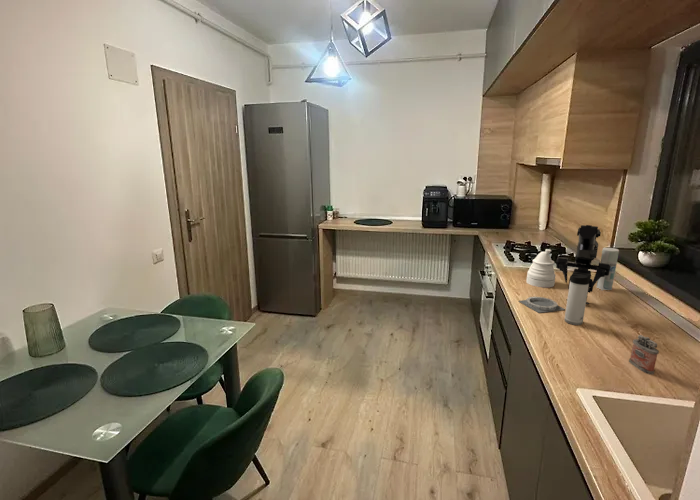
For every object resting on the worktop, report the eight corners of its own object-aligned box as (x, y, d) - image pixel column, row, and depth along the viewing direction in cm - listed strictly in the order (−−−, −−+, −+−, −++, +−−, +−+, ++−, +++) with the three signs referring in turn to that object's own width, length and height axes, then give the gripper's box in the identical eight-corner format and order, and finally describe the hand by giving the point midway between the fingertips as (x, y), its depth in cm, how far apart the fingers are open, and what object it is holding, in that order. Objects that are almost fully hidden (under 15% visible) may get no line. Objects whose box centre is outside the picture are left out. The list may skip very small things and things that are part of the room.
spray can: (602, 285, 189) (609, 247, 184) (615, 290, 183) (622, 250, 178) (593, 287, 187) (599, 248, 182) (605, 291, 181) (612, 251, 176)
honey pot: (559, 284, 192) (564, 249, 187) (545, 289, 185) (550, 253, 180) (535, 277, 202) (539, 244, 198) (521, 282, 195) (525, 248, 191)
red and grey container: (625, 360, 122) (631, 332, 120) (635, 359, 123) (641, 331, 120) (646, 374, 115) (653, 344, 112) (657, 374, 115) (663, 344, 112)
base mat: (543, 298, 173) (543, 298, 173) (565, 310, 161) (565, 309, 161) (518, 301, 170) (518, 300, 170) (538, 313, 158) (539, 312, 158)
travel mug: (586, 326, 146) (594, 277, 141) (567, 324, 148) (574, 276, 143) (580, 319, 152) (587, 271, 147) (562, 318, 154) (568, 271, 148)
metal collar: (543, 298, 173) (543, 295, 172) (563, 308, 161) (563, 305, 161) (520, 301, 170) (520, 298, 170) (539, 311, 159) (539, 308, 158)
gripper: (559, 238, 158) (552, 271, 152) (614, 244, 147) (608, 279, 142) (559, 252, 166) (553, 283, 160) (611, 258, 156) (605, 292, 150)
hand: (579, 284), depth 153 cm, fingers open, 9 cm apart
